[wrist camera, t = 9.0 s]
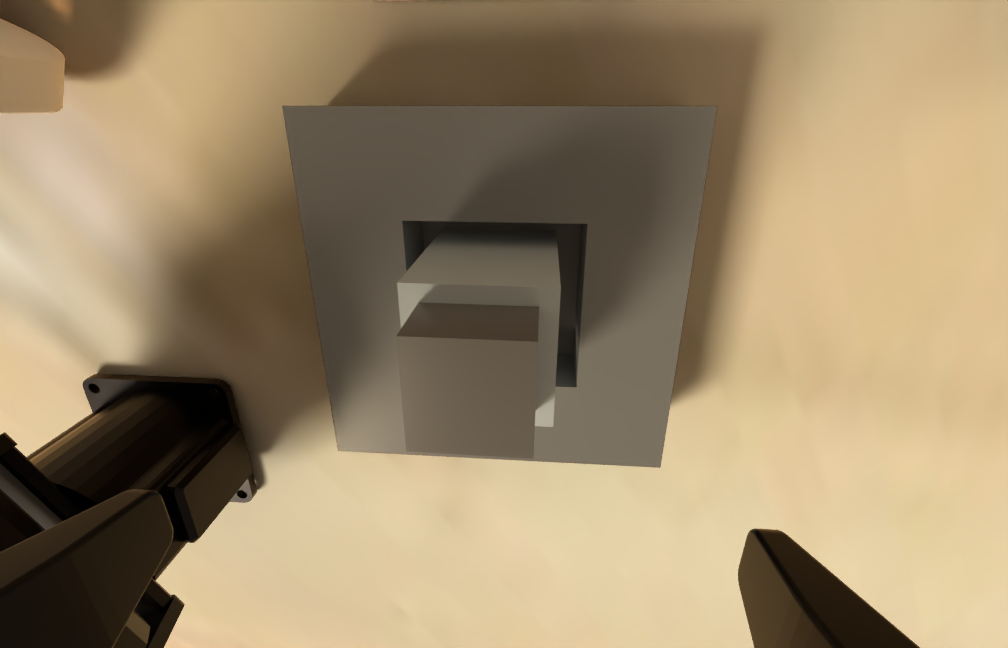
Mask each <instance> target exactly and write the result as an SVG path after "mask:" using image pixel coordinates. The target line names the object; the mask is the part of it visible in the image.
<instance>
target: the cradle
mask: <svg viewBox="0 0 1008 648" xmlns="http://www.w3.org/2000/svg"><path fill="white" fill-rule="evenodd" d="M373 1H425V0H373Z"/></svg>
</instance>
